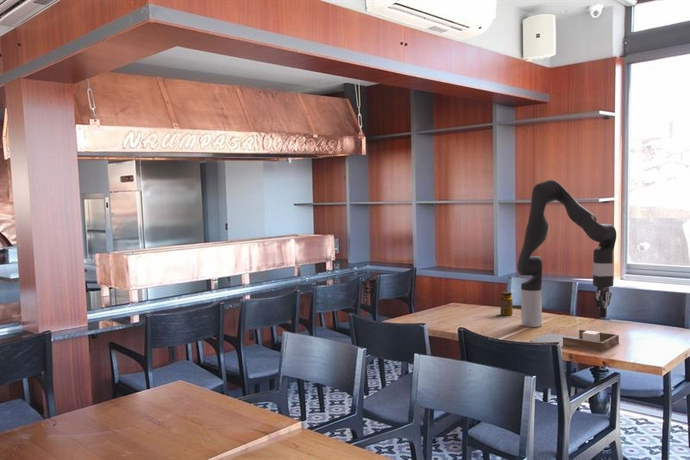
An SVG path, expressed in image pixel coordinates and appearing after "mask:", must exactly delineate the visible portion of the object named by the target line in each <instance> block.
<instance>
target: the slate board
mask: <svg viewBox="0 0 690 460" xmlns="http://www.w3.org/2000/svg"><path fill="white" fill-rule="evenodd" d="M563 337H568V338H574V339H581V340H583V339H582V338H579V336H578V337H577V336H569V335H563V334H558V333H549V332H547V333H545V334H543V335H541V336H538V337H536V338H533V339H531V340H529V343H530V342H533V343H540V342H560V343H561V347H566V348H568V347H567V346H563ZM600 342H603V341H600ZM618 345H619V344H617V345H615V346H613V347H611V348H610V349H608V350H606V351H604V352H603V353H605V352H607V351H609V350H611V349H612V348H614V347H616V346H618ZM571 348H572V349H573V347H571ZM577 349H579V350H581V349H580V348H577ZM584 350H585V351H587V350H586V349H584ZM590 351H592V352H593V350H590ZM596 352H598V353H600V352H599V351H596Z"/></svg>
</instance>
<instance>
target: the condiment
mask: <svg viewBox="0 0 690 460" xmlns="http://www.w3.org/2000/svg"><path fill="white" fill-rule="evenodd" d="M512 295H513V294H512V292H510V291H504V292H503V291H502V292H501V296H500V299H499V300H500V304H499V305H500V314H499V313H498V314H495V315H494V316H495V317H502V318H510V317H515V314H513V310H514V309H513V296H512Z"/></svg>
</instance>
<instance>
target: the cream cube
mask: <svg viewBox="0 0 690 460" xmlns="http://www.w3.org/2000/svg"><path fill="white" fill-rule="evenodd" d="M600 332H601V331H593V330H586V331H585V332H583V340H588V341H595V342H600Z"/></svg>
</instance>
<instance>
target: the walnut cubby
mask: <svg viewBox="0 0 690 460" xmlns="http://www.w3.org/2000/svg"><path fill="white" fill-rule="evenodd" d="M585 331H587V330H585V329H579V330H578V337H579V338H582V339H583V332H585ZM599 332H600V341H603V342H595V341H588V340H581V339H574V338H568V337H563V346H562V347H565V346H567V347H566V348H572V347H573V348H574V349H578V348H580V349H579V350H585V349H586V350H585V351H591V350H593V351H594V352H597V351H599V352H598V353H605V352H607V351H609V350H611V349H612V348H614V347H616V346H618V345H619V344H620V339H619V337H620V335H619V334H614V333H607V332H601V331H599ZM617 344H618V345H617ZM615 345H616V346H615ZM613 346H614V347H613ZM611 347H612V348H611ZM573 348H572V349H573ZM610 348H611V349H610ZM608 349H609V350H608ZM606 350H607V351H606ZM593 351H592V352H593ZM604 351H605V352H604Z"/></svg>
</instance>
